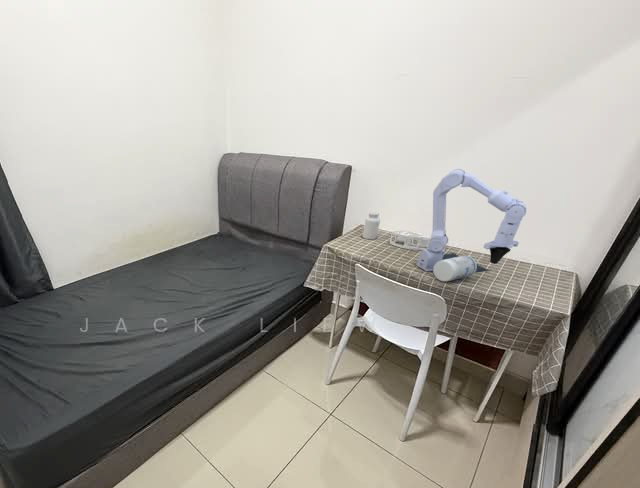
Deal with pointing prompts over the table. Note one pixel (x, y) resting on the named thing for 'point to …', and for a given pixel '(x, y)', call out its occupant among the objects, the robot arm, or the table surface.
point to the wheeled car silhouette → (405, 237)
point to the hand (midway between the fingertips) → (493, 262)
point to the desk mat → (448, 256)
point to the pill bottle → (371, 226)
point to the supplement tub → (455, 268)
